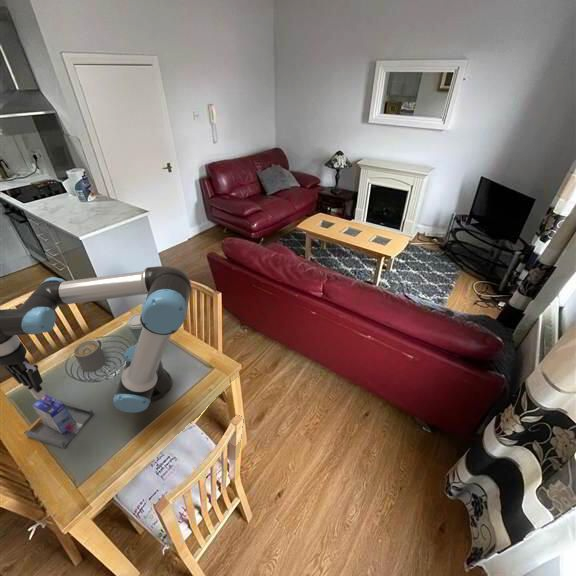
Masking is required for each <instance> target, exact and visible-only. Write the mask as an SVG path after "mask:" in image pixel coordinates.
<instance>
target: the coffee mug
mask: <svg viewBox="0 0 576 576" xmlns="http://www.w3.org/2000/svg"><path fill="white" fill-rule="evenodd" d="M72 353H73V355H74V358H75V359H76V360H77V362H78V365H79V366H80V368H81V370H82V371H84V372H85V373H87V372H89V373H90V372H91V373H92V372H94V371H97V370H99V369H101V368H102V367H103V366H104V365H105V363H106V362H107V357H106V356H105V354H104V351H103V349H102V342H101V340H100V339H99V338H96V339H95V338H94V339H88V340H85V341H82V342H79V343H78V344H77V345H76V346H75V347H74V349H73V352H72Z"/></svg>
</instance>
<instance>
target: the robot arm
mask: <svg viewBox="0 0 576 576" xmlns="http://www.w3.org/2000/svg"><path fill="white" fill-rule="evenodd" d="M191 292H192V283H191V280H190V278H189V277H188V275H187V274H186V272H184V271H183V270H181V269H179V268H177V267H173V266H167V265H163V266H162V265H157V266H150V267H146V268H144V270H143V271H135V272H128V273H121V274H120V273H119V274H110V275H103V276H97V277H90V278H81V279H73V280H65V279H63V278H61V277H60V278H59V277H56V276H51V277H48V278H45V280H43V282H41V283H40V284H39V285H38V286H37V287H36V288H35V289H34V291H33V292H32V293H31V294H30V295H29V296H28V297H27V299H26V300H25V301H24V302H23V303H22V304H20V306H19V307H18V308H9V309H8V308H5V309H0V367H2V368H3V369H5V371H6V372H7V373H8V375H10V376H11V377H12V378H13V379H14V380H15V381H16V382H17V383H18V384H20V385H21V384H22V385H23V386H24V387H26V389H27V390H28V391H29V392H30V394H31V395H32V396H33V398H34V399H35V400H37V401H38V400H39V399H41V398H42V397H43V396H44V395H47V392H46V391H45V390H44V389H43V387H42V385H41V384H42V383H43V378H42V375H41V374H40V373H41V372H40V371H39V365H38V364H33V365H32V364H30V361H29V360H28V358H27V357H26V355H27V352H28V351H27V348H26V346H25V345H24V343H23V342H22V341H21V340H20V338H19V337H18V336H23V335H25V336H26V335H37V334H43V333H44V334H45V333H49V332H51V331H52V330H53V329H54V328H55V325H56V324H55V323H56V322H57V317H56V316H57V315H56V313H55V310H56V309H58V307H59V306H65V305H73V304H80V303H87V302H96V301H103V300H104V301H105V300H110V299H118V298H127V297H135V296H142V295H143V296H144V295H147V296H146V298H145V300H144V302H143V304H142V306H141V313H142V314H141V317H140V323H141V325H142V327H143V328H142V331H141V334H140V337H139V340H138V342H136V343H135V344H133V345H131V346H129V347H128V348H127V349H126V350H125V352H124V354H123V358H124V361H125V362H126V363H125V367H124V369H123V372H122V373H121V376H120V379H119V382H118V385H117V387H116V391H115V394H114V395H113V400H112V405H113V406H114V407H115V408H116V409H117V410H118V411H121V412H124V413H132V414H133V413H140V412H144V411H145V410H147V409H148V408H149V405H150V403H153V402H156V401H159V400H161V399H163V398H164V397H165V396H166V395H168V393H169V392H170V390H171V388H172V386H173V380H172V379H173V378H172V376H171V374H170V373H169V372H168V371H167V370H166V369H165V368H164V366H163V362H162V358H163V355H164V354H165V351H166V348H167V345H168V343H169V340H170V338H171V336H172V335H174V334H175V333H177V332H178V330H179V329H180V328H181V327H182V325H183V324H184V323H185V321H186V318H187V316H188V308H189V307H188V305H189V303H190V302H189V301H190V296H191Z"/></svg>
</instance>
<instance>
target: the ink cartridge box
mask: <svg viewBox="0 0 576 576" xmlns="http://www.w3.org/2000/svg"><path fill="white" fill-rule="evenodd" d="M58 400H59V399H56V398H54V397H53V396H51V395H48V394H45V395H44V396H43V397H42V398H41V399H39V400H38V399H37V401H35V402H33V404H32V405H31V406H32V407H33V409H34V411H35V412H36V414H37V415H38V416H39V417H40V418H41V419H42V421H43V422H44V423H45V425H47V426H49V427H50V428H52V429H54V430H56V431H58V432H59V433H61V434H64V433H65V432H66V431H67V430H68V429H69V428H70V427H72V426H73V425H74V424H75V423H76V422H75V421H74V419H73V418H72V416H71V414H70V413H69V411H68V410H67V408H66V406H65V405H64V403H62V402H60V401H61V400H60V401H58Z"/></svg>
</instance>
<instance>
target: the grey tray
mask: <svg viewBox="0 0 576 576" xmlns="http://www.w3.org/2000/svg"><path fill="white" fill-rule="evenodd" d="M57 400H58V401H60V402H62V403H64V405H65V406H66V408H67V410H68V411H69V413H70V414H71V416H72V418H73V419H74V421H75V422H76V423H75V424H74V425H73V426H72V427H70V428H69V429H68V430H67V431H66V432H65V433H64V434H61V433H59V432H58V431H56V430H54V429H52V428H50V427H49V426H47V425H45V423H44V422H43V421H42V419H41V418H40V416H39V417H38V418H37V419H36V420H35V421H34V422H33V423H32V424H31V425H30V426H29V427H28V428H27V429H26V430H25V431H24V432H23V433H24V435H25V436H26V437H27V438H29V439H32V440H37V441H39V442H41V443H42V442H43V443H45V444H49V445H52V446H55V447H58V448H62V449H65V448H66V447H67V446H68V445H69V444H70V443H71V441H72V440H73V439H74V438H75V437H76V435H77V434H78V433H79V432H80V431H81V430H82V428H83V427H84V426H85V425H86V424H87V422H89V420H91V418H92V417H93V416H94V414H95V413H94V411H93V410H92V409H91V408H87V407H85V406H81V405H77V404H74V403H71V402H66V401H63V400H59V399H57Z"/></svg>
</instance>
